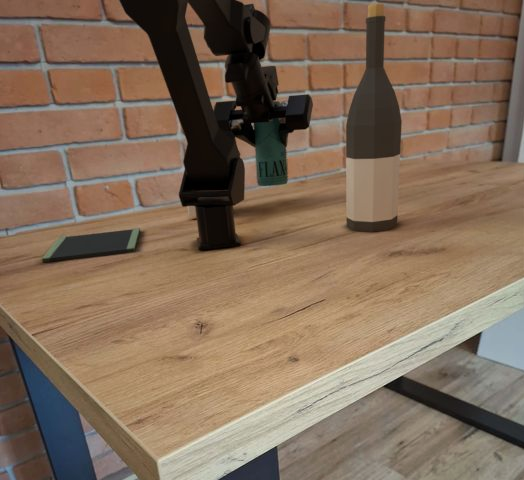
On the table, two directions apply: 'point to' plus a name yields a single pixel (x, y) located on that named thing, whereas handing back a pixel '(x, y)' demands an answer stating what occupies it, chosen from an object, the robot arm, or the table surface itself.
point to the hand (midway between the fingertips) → (272, 146)
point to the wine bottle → (373, 139)
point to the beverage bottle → (270, 153)
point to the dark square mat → (93, 245)
